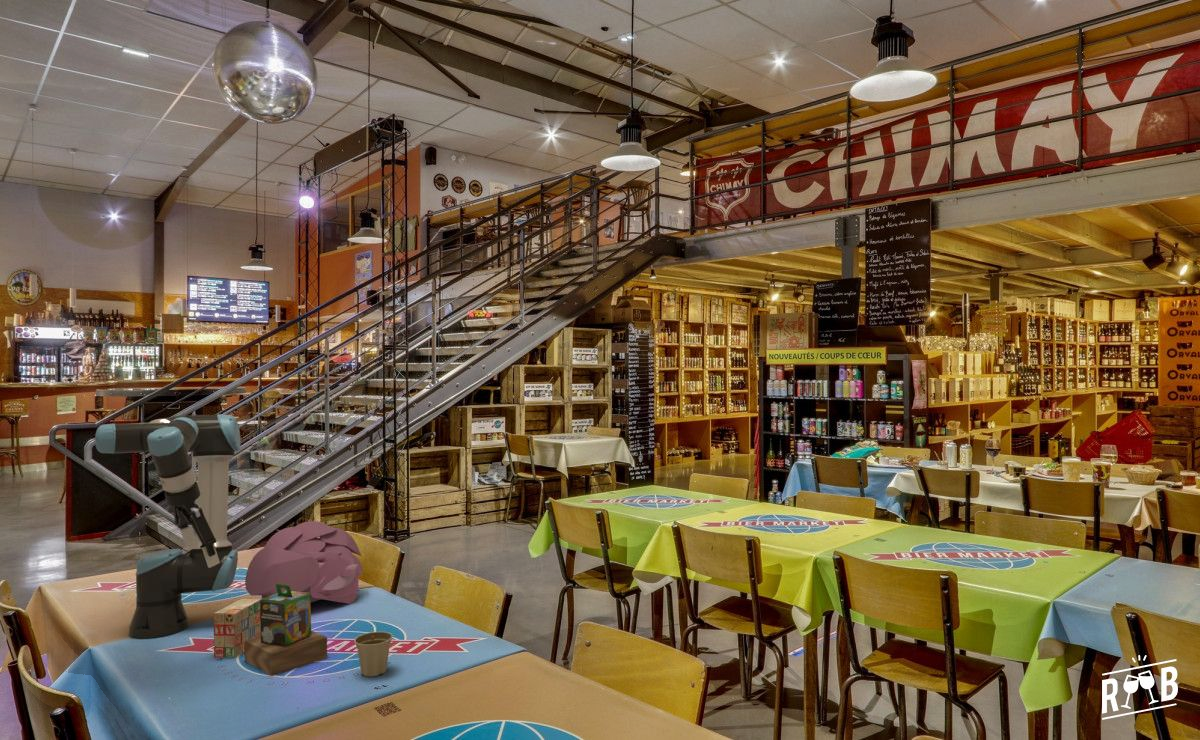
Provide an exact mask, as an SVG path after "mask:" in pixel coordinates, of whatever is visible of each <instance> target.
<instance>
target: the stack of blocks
mask: <svg viewBox="0 0 1200 740" xmlns="http://www.w3.org/2000/svg"><path fill="white" fill-rule="evenodd" d="M261 599H262V598H260V599H257V598H256V599H255V598H252V599H251V598H250V599H249V598H240V599H239V600H237V601H235V602H233V603H231V604H229V605H227V606H225V607H223V608H221V609H219V610H217V611H215V612H214V613H213V623H214V624H213V646H214V647H213V658H214V659H215V658H218V659H221V658H223V659H226V658H227V659H230V658H231V659H236V658H238V657H240V656H241V655H243V654H245V640H249V639H252V638H256V637H260V636H261V624H260V623H261V622H260V600H261Z"/></svg>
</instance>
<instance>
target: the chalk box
mask: <svg viewBox="0 0 1200 740" xmlns="http://www.w3.org/2000/svg"><path fill="white" fill-rule="evenodd" d="M276 588H277V592H278V593H276V594H273V595H270V596H269V597H266V598H263V599H262V598H260V599H261V600H260V622H261V623H260V624H261V642H265V643H270V644H275V645H281V646H287V645H289V644H291V643H294V642H296V641H298V640H300V639H302V638H305V637H307V636H309V635H311V631H312V614H311V613H312V612H311V603H310V593H307V592H298V591H291V590H290V586H289V585H285V584H276ZM281 588H285V589H286V590H287V591H284V592H282V591H281Z"/></svg>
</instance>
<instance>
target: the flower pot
mask: <svg viewBox="0 0 1200 740" xmlns="http://www.w3.org/2000/svg"><path fill="white" fill-rule="evenodd" d="M393 638H394V635H393V634H392V633H391V632H388V631H373V632H367V633H363V634H359V635H357V636H356V637H355V638H354V640H353V642H354V644H355V645H356V646H355V647H356V649H357V654H358V655H357V656H358V661H359V666H360V674H361V675H363V676H364V677H376V676H379V675H380V674H385V673H386V672H387V669H388V661H389V655H390V654H389V652H390V645H391V643H392V639H393Z"/></svg>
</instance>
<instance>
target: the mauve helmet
mask: <svg viewBox="0 0 1200 740" xmlns="http://www.w3.org/2000/svg"><path fill="white" fill-rule="evenodd" d="M361 553H362V552H361V551H360V549H359V547H358V544H357V542H356V540H355V539H354V538H353V536H352V535H351V534H350V533H349V532H348V531H346V530H344V529H341V528H338V527H337V528H336V527H332V526H331V525H329V524H326V523H324V522H321V521H315V520H310V521H304V522H301V523H299V524H297V525H295V526H290V527H285V528H283V529H281V530H279V531H277V532H275V533H274V534H273V535H272V536H271V537H270V538H269V539H268V541H267V542H266V544H265V545H264V547H263V548H262V549H260V550H259V551H258V552H257V553H255V555H254V556H253V557H252V559H251V560H250V562H249V565H248V566H247V569H246V570H247V571H246V573H245V579H244V580H245V581H244V585H245V590H246V591H247V593H248V594H249V595H250V596H261V599H263V598H266V597H269V596H270V595H273V594H276V593H278V592H277V588H276V584H285V585H289V586H290V590H291V591H298V592H307V593H310V604H311V603H314V602H317V601H319V600H325V601H331V602H337V603H343V604H349V605H351V604H353V603H354V601H355V599H357V596H358V592H360V589H359V576H361V575H362V574H363V573H364V568H363V565H362V563H361V561H360V560H359V558H358V556H361V557H362V554H361ZM355 554H356V555H358V556H356V555H355ZM281 591H282V592H284V591H287V590H286V589H285V588H281Z"/></svg>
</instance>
